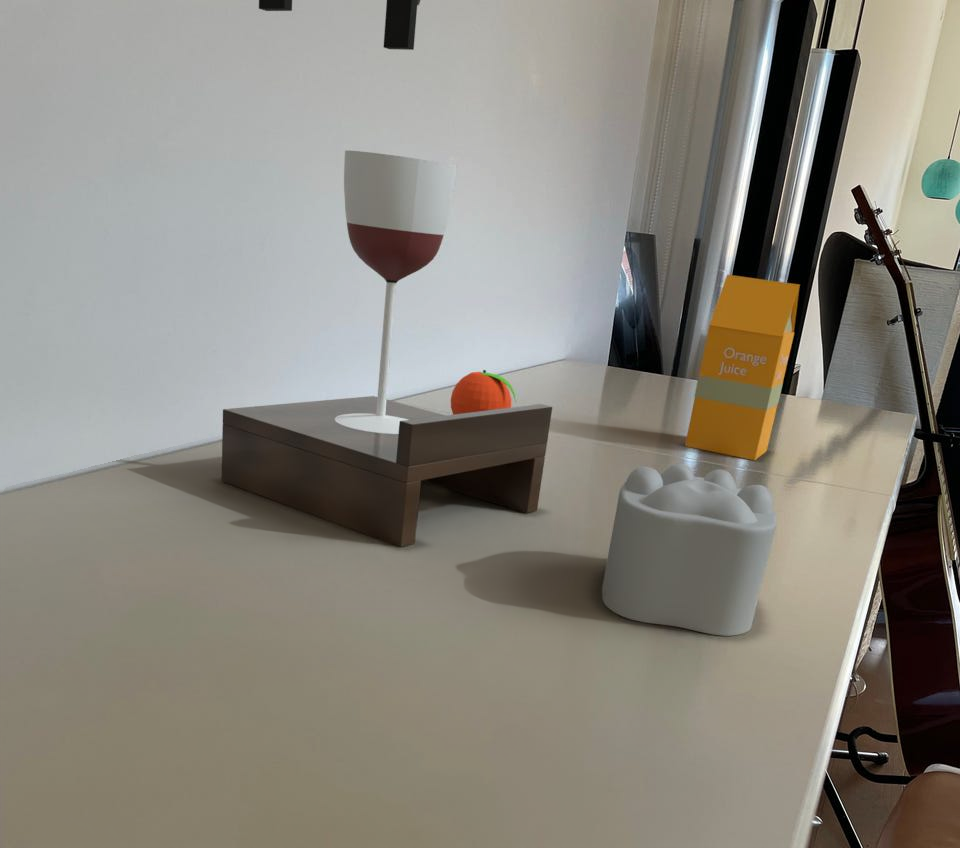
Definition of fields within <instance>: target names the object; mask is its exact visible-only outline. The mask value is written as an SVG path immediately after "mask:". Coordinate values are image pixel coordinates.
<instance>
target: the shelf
mask: <svg viewBox="0 0 960 848" xmlns="http://www.w3.org/2000/svg"><path fill="white" fill-rule="evenodd" d="M377 397H378V396H375V395H370V396H369V395H367V396H358V397H347V398H346V397H345V398H333V399H325V400H313V401H301V402H300V401H299V402H289V403H288V402H287V403H279V404H278V403H277V404H267V405H266V404H265V405H255V406H246V407H244V406H243V407H232V408H223V409H222V432H221V433H222V434H221V435H222V436H221V437H222V438H221V439H222V440H221V482H223V483H226V484H229V485H231V486H234V487H237V488H239V489H242V490H245V491H247V492H251V493H252V494H256V495H257V496H258V495H259V496H261V497H264V498H266V499H269V500H272V501H275V502H278V503H280V504H283V505H286V506H288V507H291V508H294V509H297V510H299V511H301V512H305V513H308V514H310V515H313V516H315V517H318V518H321V519H323V520H327V521H328V522H332V523H334V524H336V525H340V526H343V527H345V528H348V529H351V530H352V531H353V530H354V531H356V532H359V533H361V534H364V535H367V536H370V537H372V538H375V539H378V540H380V541H383V542H386V543H389V544H392V545H394V546H397V547H400V548H403V547H406V546H410V545H415V544H416V535H417V526H418V525H417V524H418V516H419V505H420V496H421V495H420V494H421V484H422V481H424V482H427V483H430V484H433V485H436V486H439V487H443V488H446V489H449V490H453V491H454V492H458V493H462V494H465V495H467V496H472V497H474V498H476V499H477V498H478V499H481V500H484V501H487V502H490V503H493V504H497V505H499V506H502V507H506V508H509V509H513V510H516V511H519V512H522V513H524V514H530V513H533V512H537V511H538V507H539V502H540V501H539V500H540V494H541V488H542V481H543V474H544V468H545V467H544V465H545V459H546V452H547V446H548V440H549V432H550V428H551V427H550V426H551V420H552V413H553V406H550V405H547V404H542V403H538V404H530V405H522V406H514V407H513V406H512V407H511V408H505V409H496V410H488V411H480V412H471V413H463V414H455V415H453V414H447V415H446V414H442V413H439V412H435V411H432V410H427V409H424V408H420V407H417V406H416V407H415V406H414V405H413V406H412V405H408V404H404V403H401V402H397V401H394V400H391V399H387V400H386V412H385V415H388V416H394V417H399V418H404V419H408V420H404V421H400V423H399V434H387V433H376V432H368V431H363V430H358V429H353V428H350V427H346V426H343V425H341V424H339V423H337V422H336V421H335V418H336V417H337V416H340V415H343V414H376V410H377Z"/></svg>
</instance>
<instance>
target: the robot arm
mask: <svg viewBox="0 0 960 848" xmlns="http://www.w3.org/2000/svg"><path fill="white" fill-rule="evenodd" d="M420 3H421V0H386V7H385V19H384V20H385V22H384V34H383V35H384V36H383V49H387V50H401V51H402V50H403V51H404V50H407V51H409V50H410V51H413V50H414V49H415V38H416V25H417V14H418V13H417V12H418V6H420ZM258 9H259V10H261V11H265V12H292V11H293V0H258Z"/></svg>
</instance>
